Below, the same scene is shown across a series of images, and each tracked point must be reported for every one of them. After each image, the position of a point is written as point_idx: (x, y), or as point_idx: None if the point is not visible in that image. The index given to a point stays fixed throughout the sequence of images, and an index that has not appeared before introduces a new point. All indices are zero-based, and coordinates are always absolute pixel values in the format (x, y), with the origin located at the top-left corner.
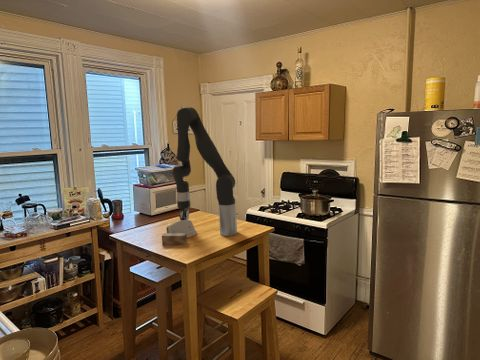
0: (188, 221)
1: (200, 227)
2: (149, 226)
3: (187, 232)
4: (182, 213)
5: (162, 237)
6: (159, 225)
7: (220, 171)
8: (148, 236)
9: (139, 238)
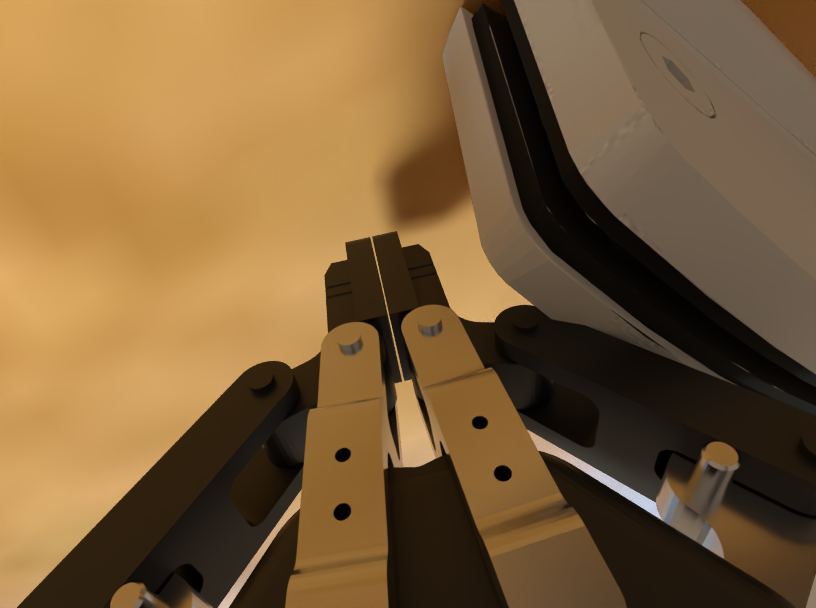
0: (733, 186)
1: (18, 3)
2: None
3: (728, 57)
4: (808, 594)
5: None
6: (246, 574)
7: None
8: (600, 477)
9: (645, 498)
